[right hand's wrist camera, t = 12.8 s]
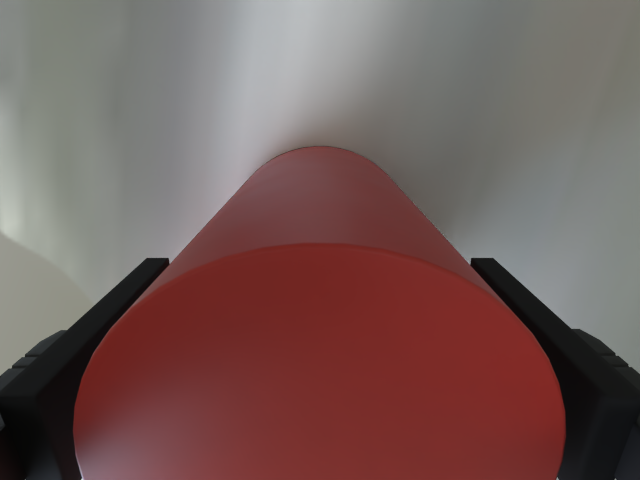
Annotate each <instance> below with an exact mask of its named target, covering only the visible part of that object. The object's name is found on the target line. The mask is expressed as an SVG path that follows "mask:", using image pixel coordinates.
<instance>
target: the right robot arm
mask: <svg viewBox="0 0 640 480" xmlns="http://www.w3.org/2000/svg"><path fill="white" fill-rule="evenodd" d="M169 265H170V264H169V258H146V259H145V260H144V261H143V262H142V263H141V264H140V265H139V266H138V267H137V268H135V269H134V270H133V271H132V272H131V273H130V274H129V275H128V276H127V277H125V278H124V279H123V280H122V281H121V282H120V283H119V284H118V285H117V286H116V287H114V288H113V289H112V290H111V291H110V292H109V293H108V294H107V295H106V296H104V297H103V298H102V299H101V300H100V301H99V302H98V303H97V304H96V305H95V306H93V307H92V308H91V309H90V310H89V311H88V312H87V313H86V314H85V315H83V316H82V317H81V318H80V319H79V320H78V321H77V322H76V323H75V324H74V325H73V326H71V327H70V328H69V329H68V330H61V331H59V332H57V333H55V334H53V335H51V336H50V337H48V338H46V339H44V340H42V341H41V342H39V343H38V344H37V345H36V346H35V347H33V348H32V349H31V350H30V351H29V352H28V353H26V354H25V357H22V358H21V359H20V360H18V361H17V362H16V363H15V364H14V365H13V366H12V368H11V369H8V370H7V371H6V372H4V373H3V374H2V375H1V376H0V480H25V479H26V480H81V479H82V475H81V472H80V469H79V465H78V462H77V458H76V454H75V445H74V436H73V423H74V408H75V402H76V398H77V395H78V391H79V387H80V383H81V379H82V376H83V374H84V372H85V370H86V368H87V366H88V363H89V361H90V359H91V357H92V355H93V353H94V351H95V350H96V348H97V347H98V346H99V344H100V343H101V341H102V340H103V338H104V337H105V335H106V334H107V333H108V331H109V330H110V328H111V327H112V326H113V325H114V324H115V323H116V322H117V321H118V320H119V319H120V318H121V317H122V315H123V314H124V313H125V312H126V311H127V310H128V309H129V308H130V307H131V306H132V305H133V304H134V302H135V301H136V300H137V299H138V298H139V297H140V296H141V295H142V294H143V293H144V292H145V291H146V289H147V288H148V287H149V286H150V285H151V284H152V283H153V282H154V281H155V280H156V279H157V278H158V277H159V275H160V274H161V273H162V272H163V271H164V270H165V269H166V268H167V267H168V266H169ZM470 266H471V267H472V268H473V269H474V270H475V271H476V272H477V273H478V274H479V276H480V277H481V278H482V279H483V280H484V281H485V282H486V283H487V284H488V285H489V286H490V288H491V289H492V290H493V291H494V292H495V293H496V294H497V295H498V296H499V297H500V298H501V300H502V301H503V302H504V303H505V304H506V305H507V306H508V307H509V308H510V309H511V310H512V312H513V313H514V314H515V315H516V316H517V317H518V318H519V319H520V320H521V321H522V322H523V324H524V325H525V326H526V327H527V328H528V329H529V330H530V331H531V332H532V333H533V335H534V336H535V338H536V340H537V341H538V343H539V344H540V346H541V347H542V349H543V350H544V352H545V353H546V355H547V357H548V358H549V360H550V363H551V365H552V368H553V370H554V372H555V375H556V377H557V379H558V382H559V385H560V390H561V394H562V399H563V403H564V408H565V419H566V440H565V447H564V454H563V460H562V463H561V466H560V470H559V473H558V476H557V477H558V479H559V480H614V479H615V478H616V479H617V480H640V374H639V373H638V372H637V371H636V370H634V369H633V368H632V367H629V366H628V364H627V363H626V362H625V361H624V360H623V359H621V358H620V357H619V356H616V355H615V353H614V352H613V351H612V350H611V349H610V348H609V347H607V346H606V345H605V344H604V343H603V342H602V341H600V340H599V339H597V338H595V337H593V336H591V335H590V334H588V333H586V332H584V331H582V330H580V329H571V328H570V327H569V326H568V325H566V324H565V323H564V322H563V321H562V320H561V319H560V318H559V317H558V316H556V315H555V314H554V313H553V312H552V311H551V310H550V309H549V308H548V307H547V306H545V305H544V304H543V303H542V302H541V301H540V300H539V299H538V298H537V297H536V296H534V295H533V294H532V293H531V292H530V291H529V290H528V289H527V288H526V287H524V286H523V285H522V284H521V283H520V282H519V281H518V280H517V279H516V278H515V277H513V276H512V275H511V274H510V273H509V272H508V271H507V270H506V269H505V268H503V267H502V266H501V265H500V264H499V263H498V262H497V261H496V260H495V259H494V258H471V264H470Z"/></svg>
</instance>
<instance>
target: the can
mask: <svg viewBox="0 0 640 480" xmlns="http://www.w3.org/2000/svg"><path fill="white" fill-rule="evenodd" d="M73 436H74V445H75V454H76V458H77V462H78V465H79V469H80V472H81V475H82V479H83V480H556V479H557V476H558V473H559V470H560V466H561V463H562V460H563V454H564V447H565V440H566V419H565V408H564V403H563V399H562V394H561V390H560V385H559V382H558V379H557V377H556V375H555V372H554V370H553V368H552V365H551V363H550V360H549V358H548V357H547V355H546V353H545V352H544V350H543V349H542V347H541V346H540V344H539V343H538V341H537V340H536V338H535V336H534V335H533V333H532V332H531V331H530V330H529V329H528V328H527V327H526V326H525V325H524V324H523V322H522V321H521V320H520V319H519V318H518V317H517V316H516V315H515V314H514V313H513V312H512V310H511V309H510V308H509V307H508V306H507V305H506V304H505V303H504V302H503V301H502V300H501V298H500V297H499V296H498V295H497V294H496V293H495V292H494V291H493V290H492V289H491V288H490V286H489V285H488V284H487V283H486V282H485V281H484V280H483V279H482V278H481V277H480V276H479V274H478V273H477V272H476V271H475V270H474V269H473V268H472V267H471V266H470V265H469V264H468V262H467V261H466V260H465V259H464V258H463V257H462V256H461V255H460V254H459V253H458V251H457V250H456V249H455V248H454V247H453V246H452V245H451V244H450V243H449V242H448V241H447V239H446V238H445V237H444V236H443V235H442V234H441V233H440V232H439V231H438V230H437V229H436V227H435V226H434V225H433V224H432V223H431V222H430V221H429V220H428V219H427V218H426V217H425V215H424V214H423V213H422V212H421V211H420V210H419V209H418V208H417V207H416V206H415V205H414V203H413V202H412V201H411V200H410V199H409V198H408V197H407V196H406V195H405V194H404V193H403V191H402V190H401V189H400V188H399V187H398V186H397V185H396V184H395V183H394V182H393V181H392V179H391V178H390V177H389V176H388V175H387V174H386V173H385V172H384V171H383V170H382V169H381V168H379V167H378V166H377V165H376V164H374V163H373V162H371V161H370V160H368V159H366V158H365V157H363V156H361V155H358V154H356V153H354V152H351V151H347V150H344V149H341V148H334V147H324V146H314V147H306V148H300V149H296V150H292V151H289V152H286V153H284V154H282V155H279V156H277V157H275V158H274V159H272V160H270V161H268V162H267V163H266V164H264V165H263V166H262V167H260V168H259V169H258V170H257V171H256V172H255V173H254V174H253V175H252V176H251V177H250V178H249V179H248V180H247V181H246V182H245V183H244V185H243V186H242V187H241V188H240V189H239V190H238V191H237V192H236V193H235V194H234V195H233V196H232V198H231V199H230V200H229V201H228V202H227V203H226V204H225V205H224V206H223V207H222V208H221V209H220V211H219V212H218V213H217V214H216V215H215V216H214V217H213V218H212V219H211V220H210V221H209V222H208V223H207V225H206V226H205V227H204V228H203V229H202V230H201V231H200V232H199V233H198V234H197V235H196V236H195V238H194V239H193V240H192V241H191V242H190V243H189V244H188V245H187V246H186V247H185V248H184V249H183V251H182V252H181V253H180V254H179V255H178V256H177V257H176V258H175V259H174V260H173V261H172V262H171V264H170V265H169V266H168V267H167V268H166V269H165V270H164V271H163V272H162V273H161V274H160V275H159V277H158V278H157V279H156V280H155V281H154V282H153V283H152V284H151V285H150V286H149V287H148V288H147V289H146V291H145V292H144V293H143V294H142V295H141V296H140V297H139V298H138V299H137V300H136V301H135V302H134V304H133V305H132V306H131V307H130V308H129V309H128V310H127V311H126V312H125V313H124V314H123V315H122V317H121V318H120V319H119V320H118V321H117V322H116V323H115V324H114V325H113V326H112V327H111V328H110V330H109V331H108V333H107V334H106V335H105V337H104V338H103V340H102V341H101V343H100V344H99V346H98V347H97V348H96V350H95V351H94V353H93V355H92V357H91V359H90V361H89V363H88V366H87V368H86V370H85V372H84V374H83V376H82V379H81V383H80V387H79V391H78V395H77V398H76V402H75V408H74V423H73Z"/></svg>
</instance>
